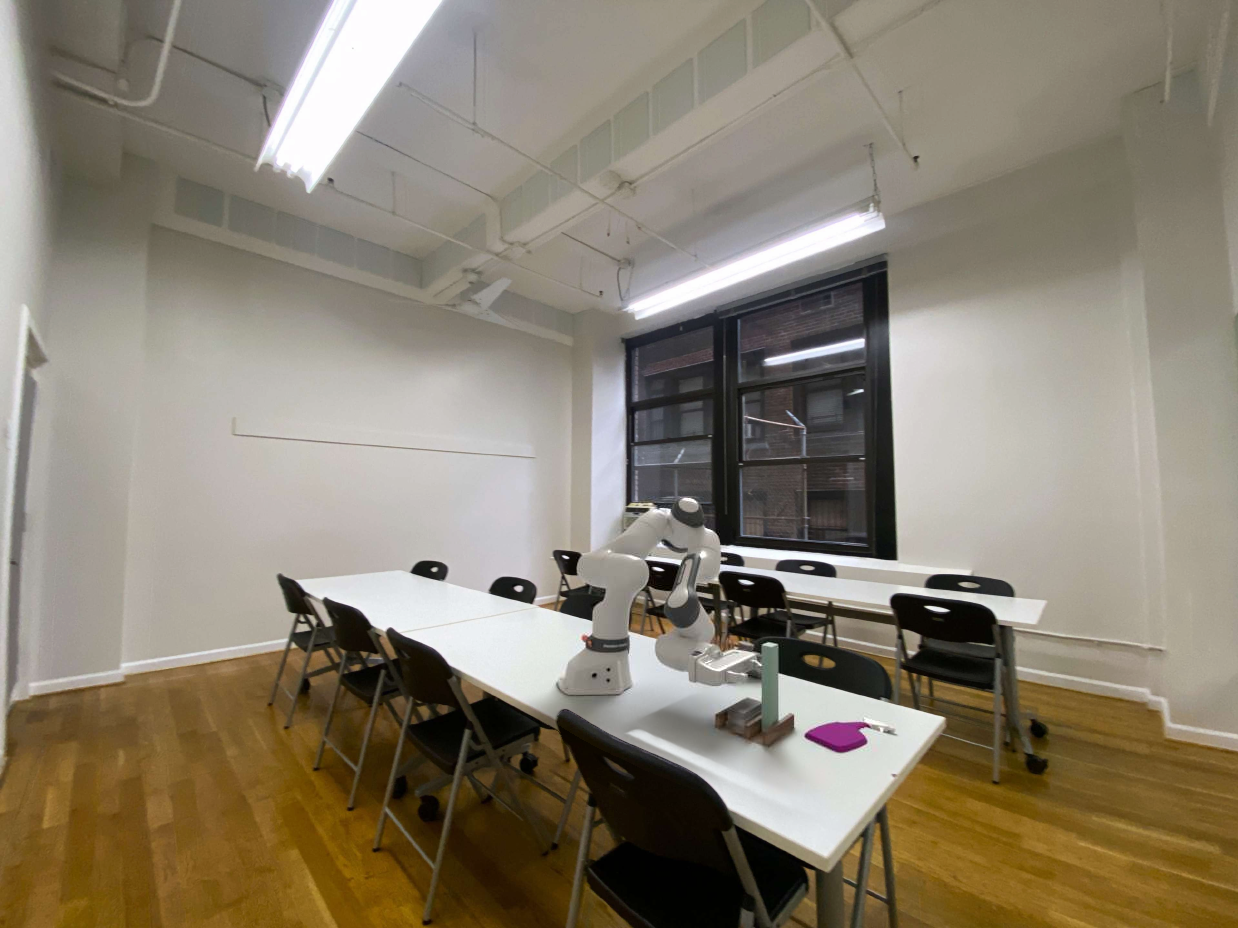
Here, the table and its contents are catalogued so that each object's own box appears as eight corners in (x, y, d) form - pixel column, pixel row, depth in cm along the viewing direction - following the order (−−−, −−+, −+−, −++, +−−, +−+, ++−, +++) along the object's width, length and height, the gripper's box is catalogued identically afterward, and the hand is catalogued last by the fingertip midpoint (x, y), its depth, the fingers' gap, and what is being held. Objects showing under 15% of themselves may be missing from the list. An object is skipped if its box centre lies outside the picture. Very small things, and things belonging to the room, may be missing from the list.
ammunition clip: (705, 669, 162) (705, 632, 163) (708, 668, 163) (708, 631, 164) (733, 678, 154) (733, 639, 155) (736, 677, 156) (736, 638, 157)
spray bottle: (799, 743, 113) (858, 721, 126) (843, 764, 104) (902, 738, 117) (799, 730, 113) (858, 709, 127) (843, 749, 104) (901, 725, 118)
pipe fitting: (722, 671, 159) (727, 640, 160) (732, 667, 165) (737, 637, 166) (758, 684, 151) (762, 651, 152) (767, 680, 158) (771, 648, 159)
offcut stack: (725, 727, 116) (725, 708, 116) (748, 714, 124) (748, 695, 124) (744, 734, 112) (744, 714, 113) (766, 720, 120) (766, 701, 121)
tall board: (761, 733, 113) (761, 644, 115) (768, 728, 116) (768, 642, 118) (771, 736, 112) (771, 647, 113) (778, 731, 114) (778, 644, 116)
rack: (715, 733, 116) (715, 714, 116) (744, 716, 126) (744, 698, 126) (768, 754, 106) (768, 732, 107) (795, 733, 117) (795, 714, 117)
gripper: (728, 663, 135) (775, 676, 126) (685, 683, 120) (735, 699, 111) (728, 640, 135) (775, 651, 126) (685, 657, 121) (735, 670, 111)
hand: (756, 674), depth 118 cm, fingers open, 8 cm apart
